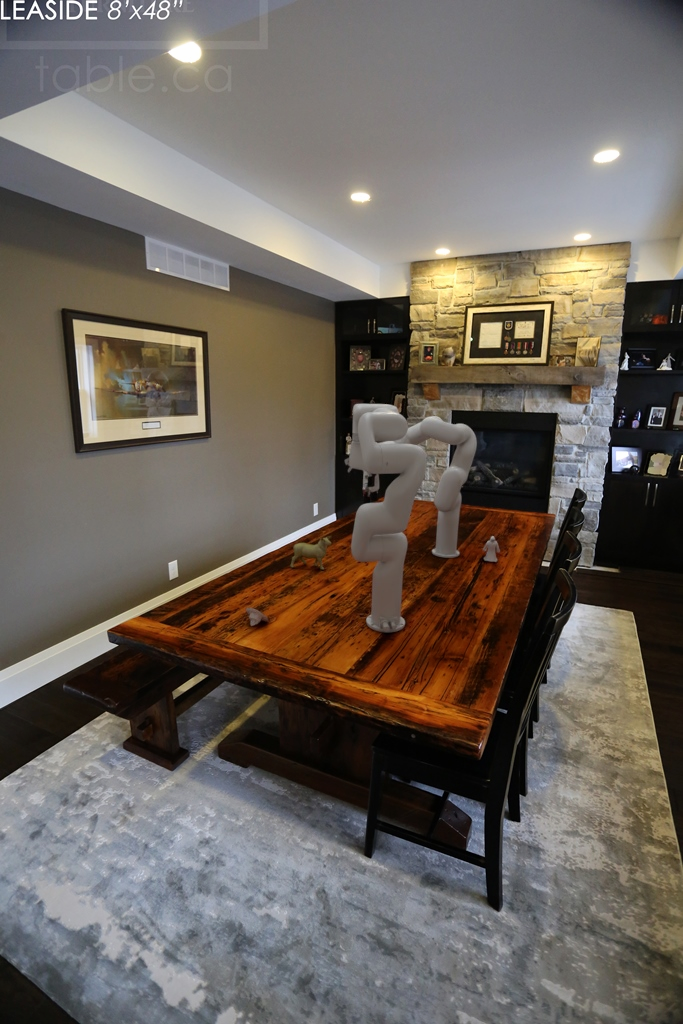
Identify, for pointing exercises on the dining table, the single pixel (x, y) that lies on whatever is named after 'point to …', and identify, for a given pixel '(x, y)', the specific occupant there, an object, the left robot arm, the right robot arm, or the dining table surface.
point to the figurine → (491, 550)
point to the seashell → (255, 616)
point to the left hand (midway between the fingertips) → (361, 484)
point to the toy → (311, 551)
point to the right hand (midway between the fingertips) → (370, 502)
